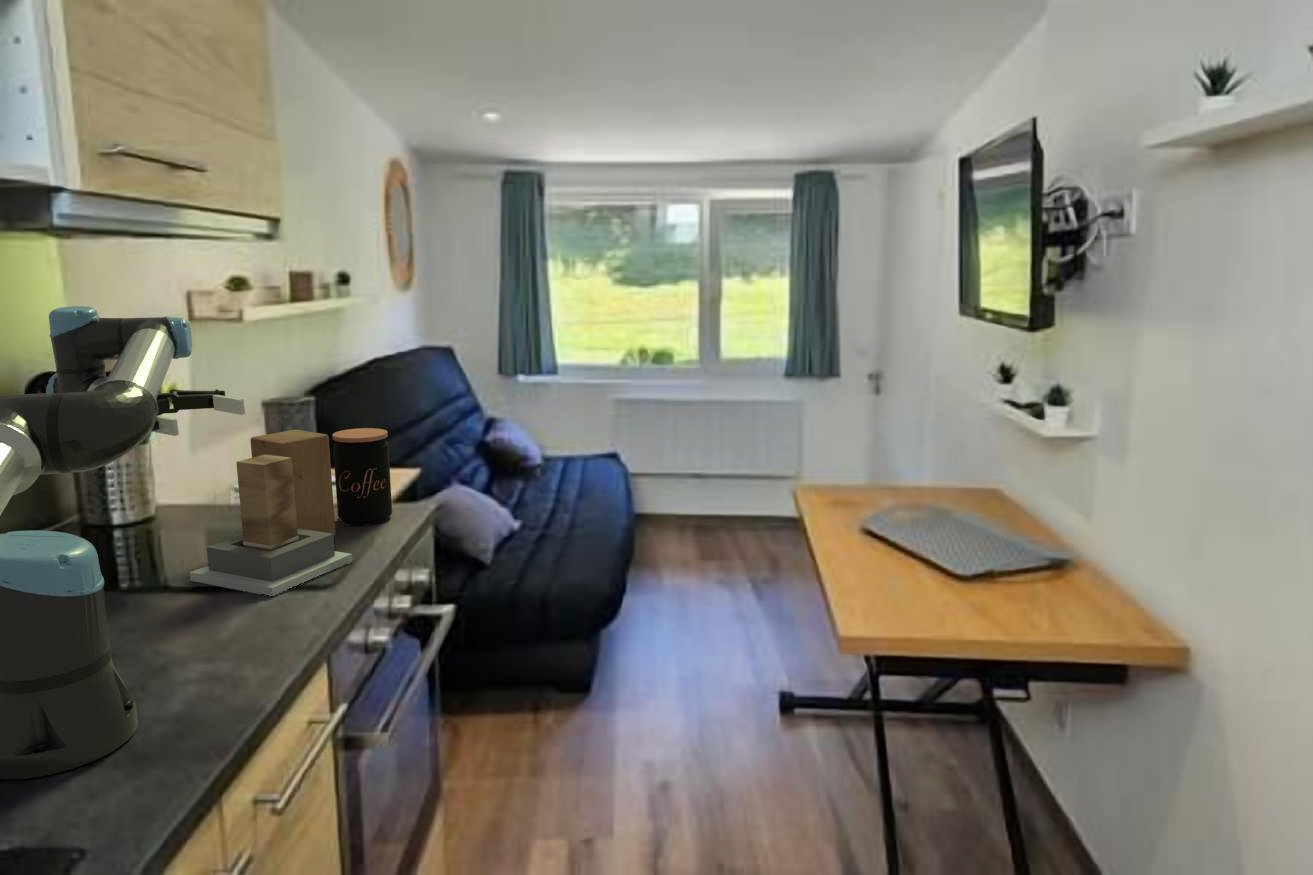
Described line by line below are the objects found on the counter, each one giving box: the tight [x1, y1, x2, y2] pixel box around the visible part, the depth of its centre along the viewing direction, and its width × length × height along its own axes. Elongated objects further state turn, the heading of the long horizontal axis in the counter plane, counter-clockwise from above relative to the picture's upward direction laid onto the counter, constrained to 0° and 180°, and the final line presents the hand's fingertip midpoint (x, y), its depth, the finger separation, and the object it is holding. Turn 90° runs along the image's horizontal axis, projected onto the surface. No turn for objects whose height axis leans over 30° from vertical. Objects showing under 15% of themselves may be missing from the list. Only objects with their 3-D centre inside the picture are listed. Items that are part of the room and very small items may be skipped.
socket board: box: [189, 528, 353, 597], centre depth 153 cm, size 18×18×6 cm
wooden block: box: [250, 429, 336, 537], centre depth 169 cm, size 10×10×20 cm
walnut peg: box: [235, 455, 299, 551], centre depth 151 cm, size 6×6×18 cm
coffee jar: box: [331, 427, 393, 527], centre depth 182 cm, size 11×11×18 cm
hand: (211, 417), depth 152 cm, fingers open, 13 cm apart
